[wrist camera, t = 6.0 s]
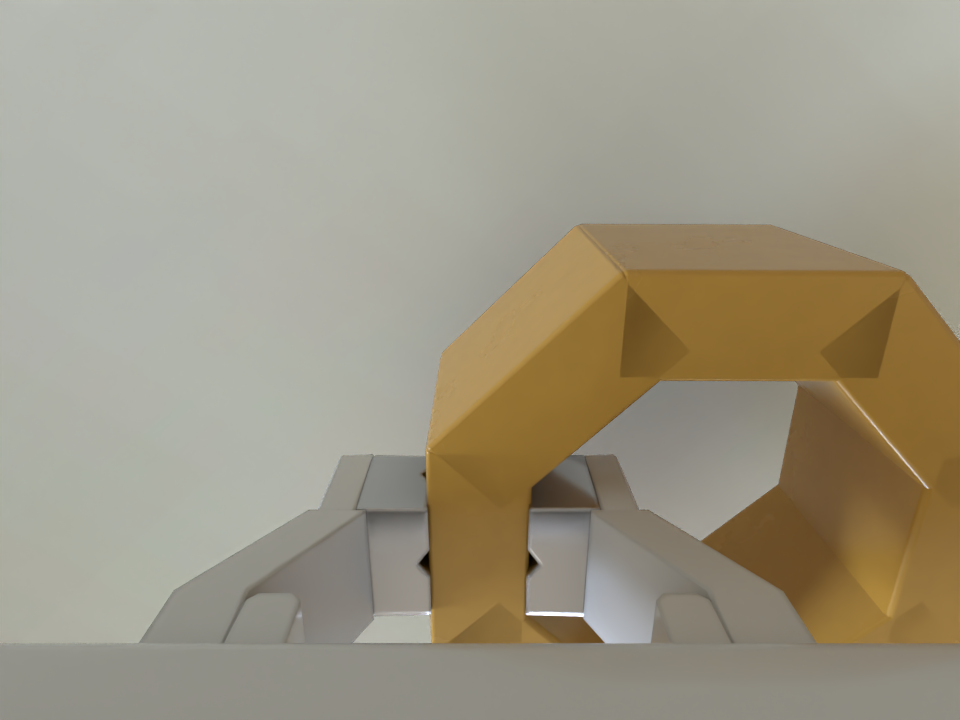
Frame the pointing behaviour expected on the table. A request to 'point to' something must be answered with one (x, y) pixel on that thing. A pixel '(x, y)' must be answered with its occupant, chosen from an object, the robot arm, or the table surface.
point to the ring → (710, 357)
